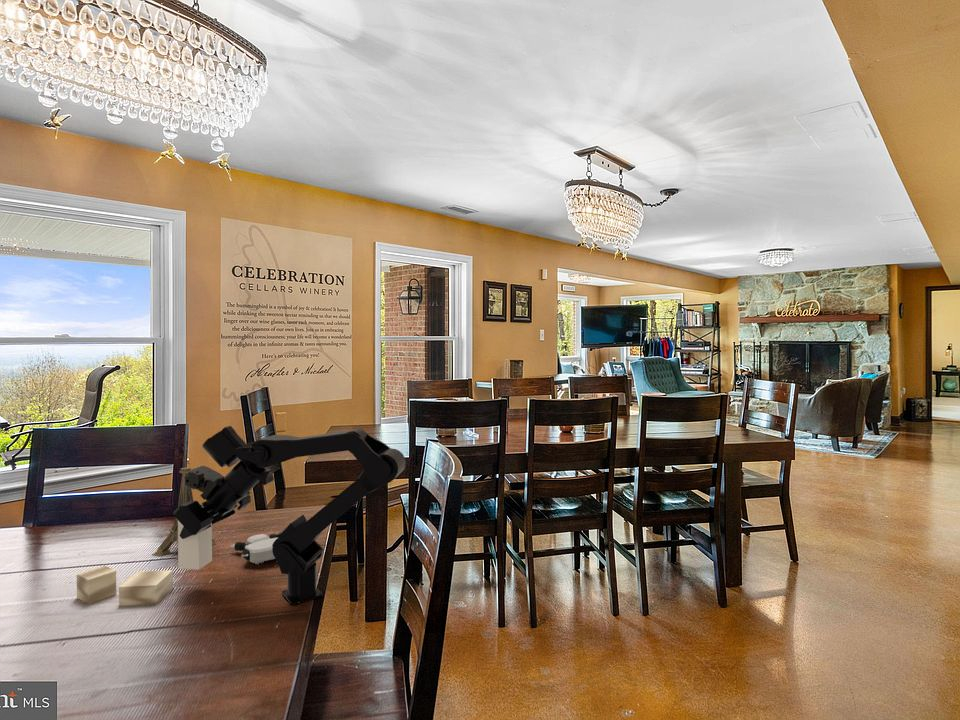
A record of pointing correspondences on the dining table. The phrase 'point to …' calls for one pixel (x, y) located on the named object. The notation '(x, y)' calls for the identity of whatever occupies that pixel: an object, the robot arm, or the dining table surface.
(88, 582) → the cube
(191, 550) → the pillar
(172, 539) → the eiffel tower
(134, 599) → the tan glossy block
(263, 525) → the dining table surface
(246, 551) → the robot toy
